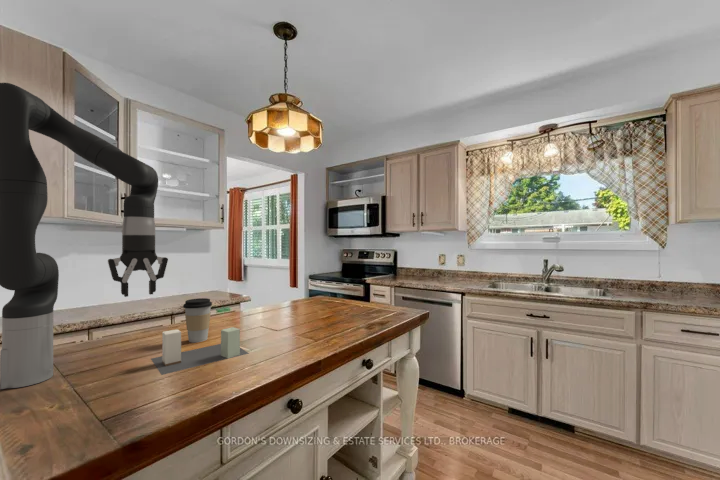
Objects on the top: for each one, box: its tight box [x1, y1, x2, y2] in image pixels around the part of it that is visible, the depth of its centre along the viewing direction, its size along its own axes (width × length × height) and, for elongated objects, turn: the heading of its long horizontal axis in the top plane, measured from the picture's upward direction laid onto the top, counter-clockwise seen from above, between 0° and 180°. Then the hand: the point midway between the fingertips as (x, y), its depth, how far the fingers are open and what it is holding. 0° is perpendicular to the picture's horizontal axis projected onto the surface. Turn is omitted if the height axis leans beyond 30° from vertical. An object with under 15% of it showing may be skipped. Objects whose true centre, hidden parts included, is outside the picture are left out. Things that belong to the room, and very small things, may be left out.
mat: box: [150, 343, 250, 376], centre depth 98 cm, size 24×16×1 cm, turn 132°
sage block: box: [220, 326, 241, 359], centre depth 99 cm, size 4×4×8 cm
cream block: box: [161, 328, 182, 366], centre depth 93 cm, size 4×4×9 cm
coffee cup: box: [182, 297, 213, 344], centre depth 114 cm, size 9×9×15 cm
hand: (139, 294), depth 88 cm, fingers open, 5 cm apart
